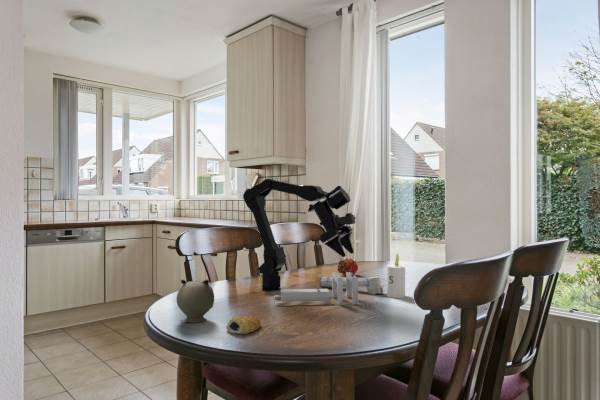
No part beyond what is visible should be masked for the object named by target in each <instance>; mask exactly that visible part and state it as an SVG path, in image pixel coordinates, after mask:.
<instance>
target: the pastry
mask: <svg viewBox="0 0 600 400" xmlns="http://www.w3.org/2000/svg"><path fill="white" fill-rule="evenodd" d="M260 327H261V319H260V318H258V317H256V316H254V315H252V316H250V315H239V316H238V315H237V316H235V317H232V318H231V319H230V320H229V321H228V323H227V325H226V326H225V328H226V331H228V333H232V334H237V335H246V334H250V333H251V332H252V333H253V332H255V331H256V330H258V329H259V328H260Z"/></svg>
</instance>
